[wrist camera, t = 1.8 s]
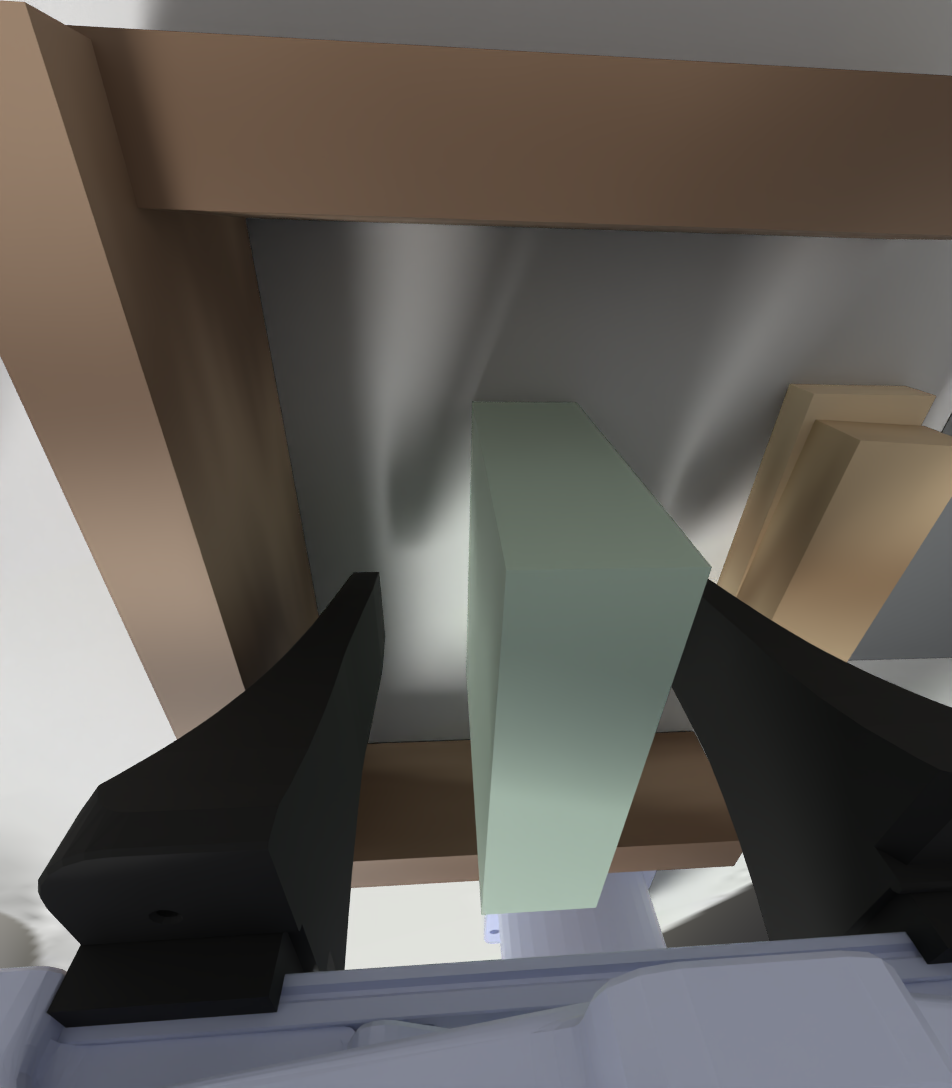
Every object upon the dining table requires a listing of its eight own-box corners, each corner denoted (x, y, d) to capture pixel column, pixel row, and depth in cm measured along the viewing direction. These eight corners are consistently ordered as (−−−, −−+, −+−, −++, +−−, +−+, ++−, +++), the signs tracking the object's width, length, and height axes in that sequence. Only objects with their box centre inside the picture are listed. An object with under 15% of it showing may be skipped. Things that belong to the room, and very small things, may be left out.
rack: (683, 757, 20) (750, 900, 15) (304, 773, 19) (265, 930, 14) (930, 141, 10) (1323, 66, 5) (129, 104, 9) (-176, -26, 4)
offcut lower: (757, 662, 18) (781, 694, 17) (677, 664, 18) (696, 697, 16) (886, 380, 13) (936, 395, 11) (774, 378, 12) (814, 393, 11)
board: (539, 668, 17) (595, 907, 11) (466, 670, 16) (481, 914, 11) (575, 402, 12) (711, 567, 6) (472, 400, 12) (506, 570, 6)
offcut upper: (783, 678, 16) (813, 715, 15) (701, 676, 16) (724, 714, 15) (923, 426, 12) (982, 448, 10) (814, 419, 12) (860, 440, 10)
